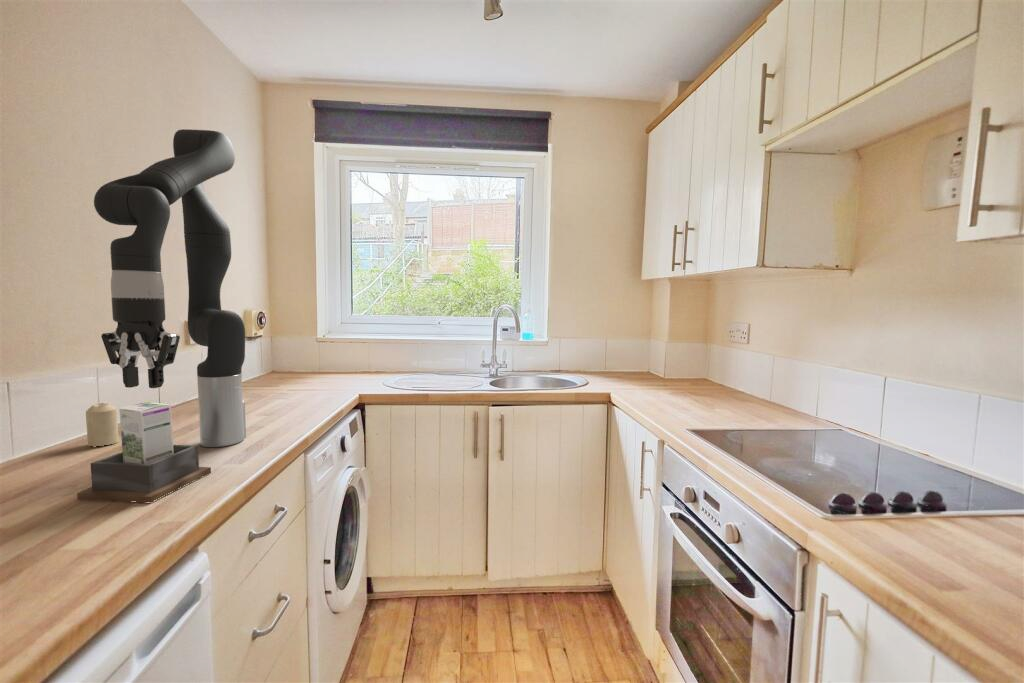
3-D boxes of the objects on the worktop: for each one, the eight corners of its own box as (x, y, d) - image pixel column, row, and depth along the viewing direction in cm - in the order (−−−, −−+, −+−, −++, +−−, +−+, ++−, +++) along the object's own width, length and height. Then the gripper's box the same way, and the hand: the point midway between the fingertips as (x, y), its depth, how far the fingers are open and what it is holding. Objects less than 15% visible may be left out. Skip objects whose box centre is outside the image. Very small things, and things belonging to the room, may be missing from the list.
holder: (147, 469, 92) (146, 441, 92) (210, 472, 91) (209, 443, 91) (77, 499, 78) (75, 465, 78) (150, 503, 77) (149, 469, 77)
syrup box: (176, 475, 87) (173, 403, 86) (144, 487, 81) (139, 410, 80) (155, 471, 88) (151, 400, 87) (122, 483, 83) (117, 407, 81)
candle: (122, 443, 109) (119, 403, 108) (92, 449, 104) (89, 407, 103) (114, 439, 112) (111, 400, 111) (84, 444, 107) (82, 404, 106)
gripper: (191, 297, 85) (195, 384, 86) (122, 296, 86) (127, 382, 87) (156, 296, 77) (162, 392, 79) (82, 295, 78) (88, 389, 80)
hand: (143, 386), depth 83 cm, fingers open, 4 cm apart
